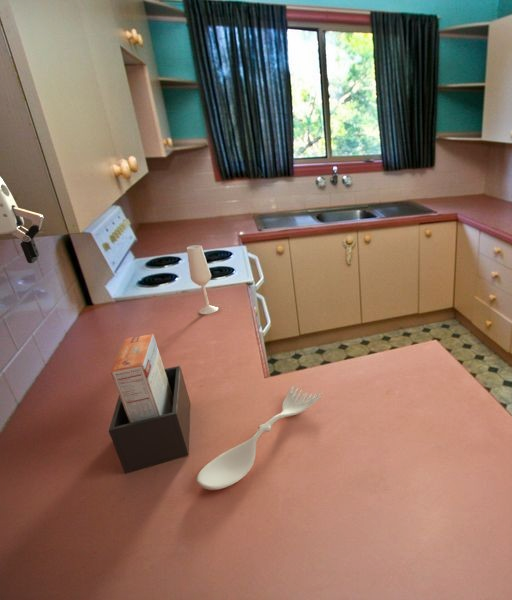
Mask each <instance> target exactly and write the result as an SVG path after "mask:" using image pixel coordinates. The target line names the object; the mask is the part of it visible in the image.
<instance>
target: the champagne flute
mask: <svg viewBox="0 0 512 600" xmlns="http://www.w3.org/2000/svg"><path fill="white" fill-rule="evenodd" d="M186 255H187V261H188V268H189V275H190V280H191V281H192V283H194V284H195V285H197V286H199V287H201V291H202V296H203V299H204V303H205V304H204V305H205V306H203V307H201V309H199V310H198V313H199V314H200V315H210V314H213V313H215V312H218V310H219V307H218V306H214V305H211V304H210V302H209V298H208V293H207V289H206V286H207V284H208V283H209V282H210V281H211V279H212V273H211V270H210V268H209V264H208V262H207V257H206V255H205V252H204V249H203V245H200V244H194V245H189V246H187V247H186Z"/></svg>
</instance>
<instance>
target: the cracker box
mask: <svg viewBox="0 0 512 600" xmlns="http://www.w3.org/2000/svg"><path fill="white" fill-rule="evenodd" d="M159 351H160V350H159V348H158V343H157V340H156V338H155V335H154V333H150V334H149V333H148V334H144V335H138V336H132V337H127V338H124V340H123V343H122V345H121V347H120V350H119V353H118V354H117V357H116V359H115V362H114V364H113V366H112V368H111V369H110V375H111V377H112V379H113V382H114V385H115V387H116V390H117V393H118V396H119V395H120V398H121V401H122V403H123V406H124V409H125V411H126V414H127V416H128V419H129V422H130V423H132V422H136V421H140V420H144V419H148V418H152V417H156V416H160V415H164V414H168V413H172V410H173V399H174V398H173V395H172V392H171V389H170V385H169V382H168V379H167V376H166V373H165V370H164V369H165V366H164V364H163V360H162V357H161V353H160V352H159Z"/></svg>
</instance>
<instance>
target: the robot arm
mask: <svg viewBox="0 0 512 600" xmlns="http://www.w3.org/2000/svg"><path fill="white" fill-rule="evenodd" d="M24 219H26V220H30V221H31V225H30V227H29V229H28V228H26V227H24V225H25V220H24ZM43 221H44V215H43V214H41V213H37V212H34V211H31V210H28V209H24V208H20V207H19V206H18V204H17V202H16V201H15V199H14V196H13V195H12V192H11V191H10V189H9V188H8V185H7V184H6V182H5V181H4V179H3V178H2V177H1V176H0V235H6V234H7V235H8V234H11V235H13V236H14V237H16V238H18V240H19V239H20V240H21V241H22V242H20V248H21V249H22V252H23V255H24V257H25V259H26V262H27V263H28V264H34V263H35V262H37V260H38V257H40V252H39V250H38V248H37V245H36V242H35V240H34V239H35V238H36V236H37V235H38V233H40V231H41V229H42V224H43Z"/></svg>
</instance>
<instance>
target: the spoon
mask: <svg viewBox="0 0 512 600" xmlns="http://www.w3.org/2000/svg"><path fill="white" fill-rule="evenodd" d="M295 388H296V384H293V385H292V386H291V387H290V388H289V390H288V392H287V394H286V395H285V398H284V399H283V401H282V405H281V412H280V413H278V414H275V415H274V416H272V417H271V418H270V419H269V420H267V421H266V422H264V423H261V424H259V425H258V430H257V432H256V433H254V435H253V436H251V437H250V438H249V439H246V440H245V441H244V442H242V443H240V444H238V445H236V446H234V447H232V448H230V449H228V450H226V451H224V452H223V453H221V454H219V455H217V456H216V457H214V458H213V459H212V460H210V461H209V462H208V463H206V464H205V465H204V466H203V467H202V468H201V470H200V471H199V472H198V474H197V476H196V481H197V484H198V485H199V486H200V487H201V488H203V489H205V490H208V491H216V490H222V489H226V488H229V487H230V486H232V485H234V484H236V483H237V482H239V481H240V480H242V479H243V478H244V477H245V476H246V475H247V474H248V473H249V471H250V470H251V469H252V468H253V466H254V464H255V459H256V454H257V453H256V452H257V451H256V450H257V442H258V440H259V438H260V437H261V435H263V434H264V433H267V432H270V431H271V430H272V429H273V428H272V426H273V425H274V424H275V423H276V422H278V421H279V420H281V419H284V418H289V417H293V416H296V415H300V414H302V413H304V412H305V411H307V410H308V409H310V407H312V406H313V405H314V404H315V403H317V402H318V401H319V400H320V399H321V397H322V395H323V392H320V393H317V392H316V393H313V392H311V393H310V394H309V395H308V391H306V392H305V393H303V389H300V391H298V390H299V387H297V388H296V389H295ZM302 393H303V394H302ZM301 394H302V395H301Z"/></svg>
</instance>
